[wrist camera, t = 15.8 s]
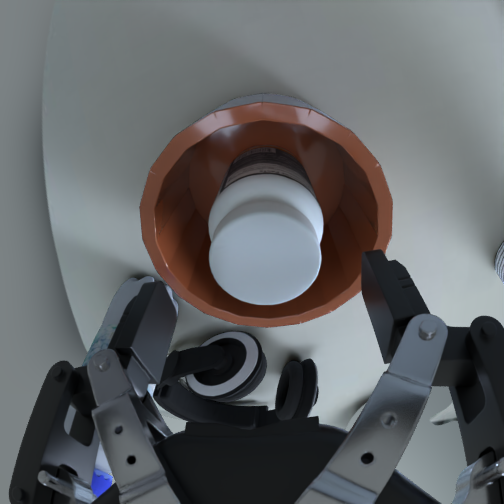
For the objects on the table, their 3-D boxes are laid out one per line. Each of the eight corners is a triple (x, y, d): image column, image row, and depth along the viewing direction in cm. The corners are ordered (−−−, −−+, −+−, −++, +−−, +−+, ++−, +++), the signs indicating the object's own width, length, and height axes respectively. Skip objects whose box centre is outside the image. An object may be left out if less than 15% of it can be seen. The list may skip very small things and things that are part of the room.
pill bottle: (286, 228, 22) (295, 327, 14) (214, 201, 21) (181, 291, 13) (320, 162, 19) (360, 235, 11) (242, 129, 18) (221, 178, 10)
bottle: (182, 324, 30) (137, 514, 13) (122, 310, 29) (55, 483, 13) (186, 276, 26) (121, 508, 9) (118, 260, 26) (17, 462, 9)
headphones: (352, 420, 25) (250, 450, 37) (348, 357, 31) (255, 406, 43) (186, 368, 21) (134, 414, 32) (207, 293, 27) (150, 366, 38)
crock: (207, 263, 25) (187, 335, 19) (160, 117, 18) (105, 145, 12) (356, 241, 23) (385, 310, 17) (341, 82, 17) (386, 88, 10)
